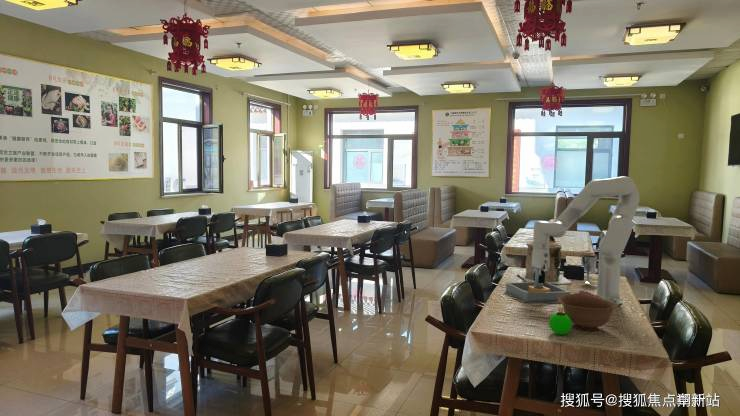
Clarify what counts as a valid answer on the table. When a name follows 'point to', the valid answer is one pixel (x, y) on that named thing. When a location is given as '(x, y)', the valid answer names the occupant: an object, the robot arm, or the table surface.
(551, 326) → the ornament
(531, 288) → the frame
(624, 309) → the table surface
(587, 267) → the wine glass
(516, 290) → the walled box
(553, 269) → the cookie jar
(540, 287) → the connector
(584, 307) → the bowl
